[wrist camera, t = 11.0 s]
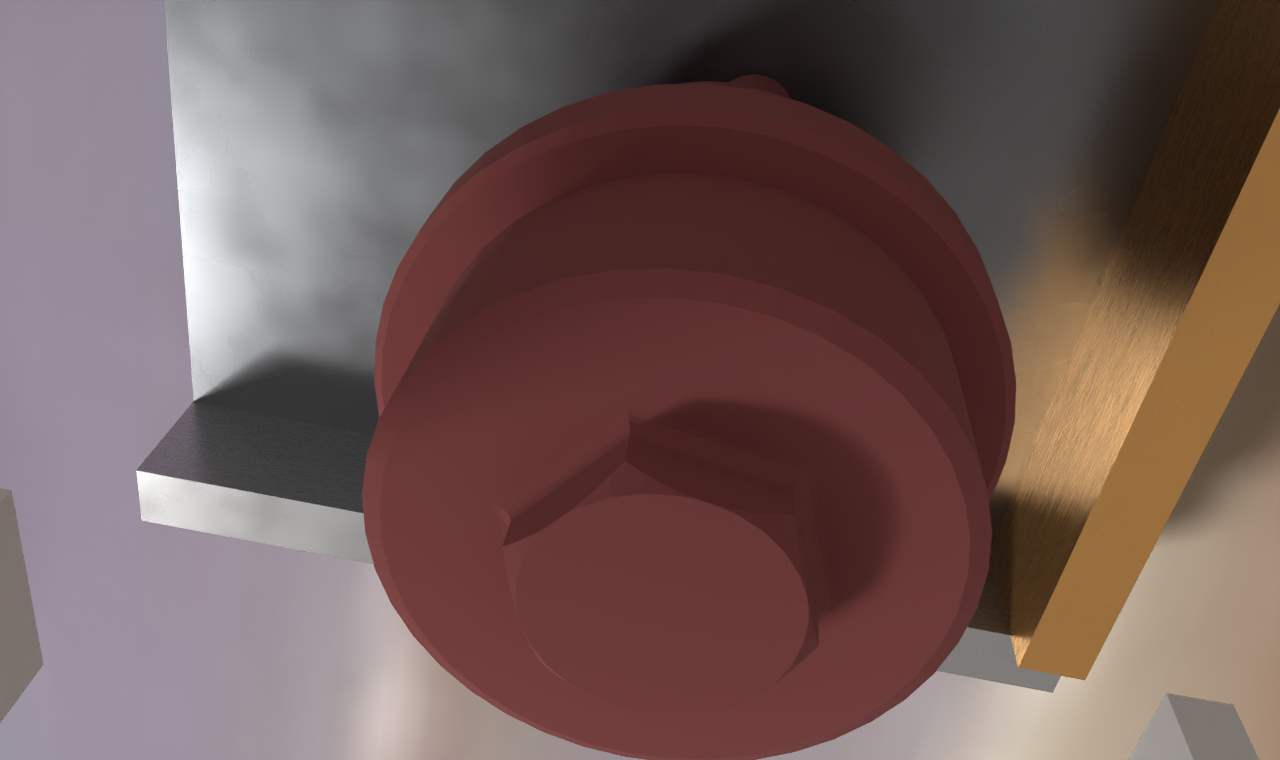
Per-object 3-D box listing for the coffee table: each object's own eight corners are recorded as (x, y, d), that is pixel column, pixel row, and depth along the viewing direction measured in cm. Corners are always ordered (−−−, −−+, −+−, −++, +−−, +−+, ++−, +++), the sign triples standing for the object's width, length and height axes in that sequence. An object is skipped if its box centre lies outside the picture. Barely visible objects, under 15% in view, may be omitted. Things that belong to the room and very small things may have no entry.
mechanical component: (444, 334, 27) (552, -94, 21) (838, 462, 27) (1036, 77, 22) (227, 747, 16) (333, 111, 11) (872, 937, 17) (1261, 422, 12)
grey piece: (218, 437, 31) (123, 563, 26) (165, -400, 21) (-4, -425, 16) (1014, 588, 30) (1054, 739, 26) (1357, -188, 20) (1516, -155, 16)
